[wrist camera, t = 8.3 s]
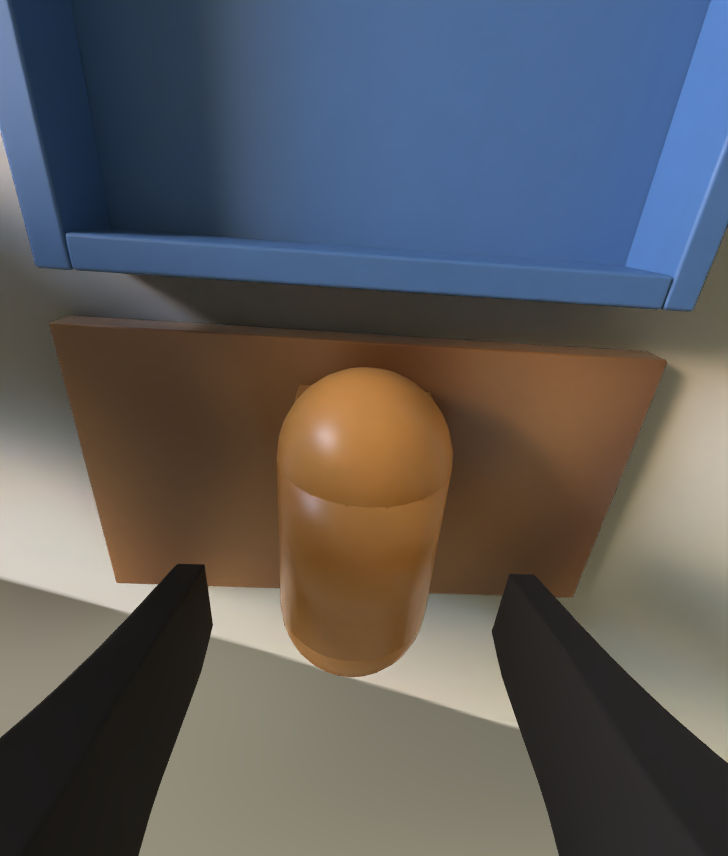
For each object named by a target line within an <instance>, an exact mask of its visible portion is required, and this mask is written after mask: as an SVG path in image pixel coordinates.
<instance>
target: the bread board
mask: <svg viewBox="0 0 728 856" xmlns="http://www.w3.org/2000/svg"><path fill="white" fill-rule="evenodd" d="M49 326H50V330H51V334H52V338H53V341H54V345H55V349H56V353H57V357H58V361H59V364H60V368H61V372H62V376H63V380H64V384H65V387H66V391H67V395H68V399H69V403H70V406H71V410H72V414H73V418H74V422H75V426H76V429H77V433H78V437H79V441H80V445H81V449H82V452H83V456H84V460H85V464H86V468H87V471H88V475H89V479H90V483H91V487H92V491H93V494H94V498H95V502H96V506H97V510H98V514H99V517H100V521H101V525H102V529H103V533H104V537H105V540H106V544H107V548H108V552H109V556H110V559H111V563H112V567H113V571H114V575H115V579H116V582H117V583H135V584H159V583H160V582H161V581H162V580H163V578H164V577H165V576H166V575H167V574H168V573H169V572H170V571H171V569H172V568H173V567H174V566H176V565H177V564H205V571H206V578H207V586H227V587H258V588H280V560H279V522H278V485H277V451H278V441H279V434H280V431H281V428H282V425H283V422H284V420H285V418H286V416H287V414H288V413H289V411H290V409H291V408H292V406H293V404H294V403H295V398H296V394H297V391H298V388H299V385H313V384H314V383H316V382H317V381H319V380H321V379H322V378H324V377H326V376H327V375H330V374H333V373H336V372H339V371H342V370H345V369H349V368H357V367H371V368H379V369H385V370H389V371H392V372H395V373H397V374H400V375H402V376H404V377H405V378H407V379H409V380H411V381H413V382H415V383H416V384H417V385H418V386H419V387H420V388H422V389H423V390H424V391H425V392H430V393H431V396H432V398H433V400H434V402H435V404H436V405H437V406H438V408H439V409H440V411H441V412H442V414H443V416H444V418H445V421H446V423H447V426H448V428H449V432H450V437H451V443H452V449H453V459H452V472H451V477H450V482H449V487H448V493H447V498H446V503H445V508H444V514H443V519H442V524H441V530H440V535H439V540H438V545H437V551H436V556H435V561H434V567H433V572H432V577H431V582H430V588H429V593H441V594H472V595H503V593H504V590H505V586H506V583H507V580H508V576H509V574H531V575H535V576H536V577H537V578H538V579H539V580H540V581H541V582H542V584H543V585H544V586H545V587H546V588H547V589H548V590H549V591H550V592H551V593H552V594H553V596H554V597H564V598H572V597H573V595H574V593H575V590H576V588H577V585H578V583H579V581H580V578H581V576H582V573H583V571H584V568H585V566H586V563H587V561H588V558H589V556H590V553H591V551H592V548H593V546H594V543H595V541H596V538H597V536H598V533H599V531H600V528H601V526H602V523H603V521H604V518H605V516H606V513H607V511H608V508H609V506H610V504H611V501H612V499H613V496H614V494H615V491H616V489H617V486H618V484H619V481H620V479H621V476H622V474H623V471H624V469H625V466H626V464H627V461H628V459H629V456H630V454H631V451H632V449H633V446H634V444H635V441H636V439H637V436H638V434H639V431H640V429H641V426H642V424H643V422H644V419H645V417H646V414H647V412H648V409H649V407H650V404H651V402H652V399H653V397H654V394H655V392H656V389H657V387H658V384H659V382H660V379H661V377H662V374H663V372H664V369H665V367H666V364H667V360H665V359H663V358H661V357H659V356H656V355H654V354H652V353H650V352H648V351H633V350H617V349H601V348H585V347H569V346H553V345H537V344H521V343H505V342H490V341H474V340H458V339H442V338H426V337H410V336H394V335H378V334H362V333H346V332H330V331H314V330H298V329H282V328H266V327H250V326H234V325H218V324H202V323H186V322H170V321H154V320H138V319H123V318H107V317H91V316H75V315H69V316H66V317H63V318H61V319H58V320H55V321H52V322H50V323H49Z"/></svg>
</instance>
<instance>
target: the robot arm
mask: <svg viewBox="0 0 728 856" xmlns="http://www.w3.org/2000/svg"><path fill="white" fill-rule="evenodd" d="M212 626H213V623H212V616H211V608H210V601H209V593H208V586H207V578H206V571H205V564H177V565H176V566H174V567H173V568H172V569H171V571H170V572H169V573H168V574H167V575H166V576H165V577H164V578H163V580H162V581H161V582H160V583H159V584H158V585H157V586H156V587H155V588H154V590H153V591H152V592H151V593H150V594H149V595H148V596H147V597H146V598H145V599H144V601H143V602H142V603H141V604H140V605H139V606H138V607H137V608H136V609H135V610H134V611H133V612H132V614H131V615H130V616H129V617H128V618H127V619H126V620H125V621H124V622H123V623H122V624H121V625H120V626H119V627H118V628H117V629H116V630H115V631H114V632H113V634H111V635H110V636H109V638H108V639H106V641H105V642H104V643H103V644H102V645H101V646H100V647H99V648H98V649H97V650H96V651H95V652H94V653H93V654H92V655H91V656H90V657H89V658H87V660H85V662H83V663H82V664H81V665H80V666H79V667H78V668H77V669H76V670H75V671H74V672H73V673H72V674H71V675H70V676H69V677H68V678H67V679H66V680H65V681H63V682H62V683H61V684H60V685H59V686H58V687H57V688H56V689H55V690H54V691H53V692H52V693H51V694H50V695H49V696H47V697H46V698H45V699H44V700H43V701H42V702H41V703H40V704H39V705H37V706H36V707H35V708H34V709H33V710H32V711H31V712H30V713H29V714H27V715H26V716H25V717H24V718H23V719H22V720H20V721H19V722H18V723H17V724H16V725H15V726H13V727H12V728H11V729H10V730H9V731H8V732H7V733H6V734H4V735H3V736H2V737H1V738H0V856H138V855H139V852H140V848H141V844H142V841H143V837H144V833H145V830H146V827H147V823H148V820H149V816H150V813H151V810H152V807H153V804H154V801H155V797H156V795H157V791H158V788H159V785H160V783H161V780H162V777H163V774H164V771H165V769H166V766H167V764H168V761H169V758H170V755H171V753H172V750H173V747H174V744H175V742H176V739H177V736H178V734H179V731H180V728H181V725H182V723H183V720H184V717H185V715H186V712H187V709H188V707H189V704H190V701H191V698H192V695H193V693H194V690H195V687H196V684H197V682H198V679H199V676H200V673H201V670H202V666H203V662H204V658H205V655H206V651H207V647H208V643H209V639H210V634H211V630H212ZM492 635H493V639H494V644H495V649H496V653H497V658H498V662H499V666H500V670H501V675H502V678H503V681H504V684H505V687H506V690H507V693H508V696H509V699H510V702H511V705H512V708H513V711H514V714H515V717H516V719H517V722H518V725H519V728H520V731H521V734H522V737H523V740H524V742H525V745H526V748H527V751H528V754H529V757H530V759H531V762H532V765H533V768H534V771H535V774H536V777H537V780H538V783H539V785H540V789H541V792H542V795H543V798H544V802H545V805H546V808H547V811H548V815H549V819H550V822H551V827H552V830H553V834H554V838H555V842H556V846H557V849H558V853H559V856H728V763H727V762H726V761H724V760H723V759H722V758H721V757H719V756H718V755H717V754H716V753H715V752H714V751H712V750H711V749H710V748H709V747H708V746H707V745H706V744H704V743H703V742H702V741H701V740H700V739H699V738H697V737H696V736H695V735H694V734H693V733H692V732H690V731H689V730H688V729H687V728H686V727H685V726H683V725H682V724H681V723H680V722H679V721H678V720H677V719H676V718H674V717H673V716H672V715H671V714H670V713H669V712H668V711H667V710H666V709H665V708H663V707H662V706H661V705H660V704H659V703H658V702H657V701H656V700H655V699H654V698H653V697H652V696H651V695H650V694H649V693H648V692H647V691H645V690H644V689H643V688H642V687H641V686H640V685H639V684H638V683H637V682H636V681H635V680H634V679H633V678H632V677H631V676H630V675H629V674H628V673H627V672H626V671H625V670H624V669H623V668H622V667H621V666H620V665H619V664H618V663H617V662H616V661H615V660H614V659H613V658H612V657H611V656H610V655H609V654H608V653H607V652H606V651H605V650H604V649H603V648H602V647H601V646H600V645H599V644H598V643H597V642H596V641H595V640H594V639H593V638H592V637H591V635H590V634H589V633H588V632H587V631H586V630H585V629H584V628H583V627H582V626H581V625H580V624H579V623H578V622H577V621H576V619H575V618H574V617H573V616H572V615H571V614H570V613H569V612H568V611H567V610H566V609H565V608H564V606H563V605H562V604H561V603H560V602H559V601H558V600H557V599H556V598H555V597H554V596H553V594H552V593H551V592H550V591H549V590H548V589H547V588H546V587H545V586H544V585H543V584H542V582H541V581H540V580H539V579H538V578H537V577H536V576H535V575H531V574H509V576H508V580H507V583H506V586H505V590H504V593H503V596H502V600H501V603H500V606H499V609H498V613H497V616H496V619H495V623H494V626H493V629H492Z"/></svg>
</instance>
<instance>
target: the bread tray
mask: <svg viewBox="0 0 728 856" xmlns="http://www.w3.org/2000/svg"><path fill="white" fill-rule="evenodd" d="M0 130H1V134H2V138H3V142H4V146H5V150H6V154H7V157H8V161H9V165H10V169H11V173H12V177H13V181H14V184H15V188H16V192H17V196H18V200H19V204H20V207H21V211H22V215H23V219H24V223H25V227H26V231H27V234H28V238H29V242H30V246H31V250H32V254H33V258H34V261H35V265H36V266H37V267H39V268H50V269H64V270H71V269H76V270H81V271H96V272H111V273H126V274H140V275H155V276H170V277H185V278H199V279H214V280H229V281H244V282H258V283H273V284H288V285H303V286H317V287H332V288H347V289H362V290H376V291H391V292H406V293H421V294H435V295H450V296H465V297H480V298H494V299H509V300H524V301H539V302H553V303H568V304H583V305H598V306H612V307H627V308H642V309H663V310H672V311H686V312H688V311H692V310H693V309H694V307H695V305H696V302H697V300H698V298H699V295H700V293H701V290H702V288H703V285H704V283H705V280H706V278H707V275H708V273H709V271H710V268H711V266H712V263H713V261H714V258H715V256H716V253H717V251H718V248H719V246H720V244H721V241H722V239H723V236H724V234H725V231H726V229H727V226H728V0H0Z"/></svg>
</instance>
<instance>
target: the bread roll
mask: <svg viewBox="0 0 728 856" xmlns="http://www.w3.org/2000/svg"><path fill="white" fill-rule="evenodd" d="M452 459H453V449H452V443H451V437H450V432H449V428H448V426H447V423H446V421H445V418H444V416H443V414H442V412H441V411H440V409H439V408H438V406H437V405H436V404H435V402H434V400H433V398H432V396H431V393H430V392H425V391H424V390H423V389H422V388H420V387H419V386H418V385H417V384H416V383H415V382H413V381H411V380H409V379H407V378H405V377H404V376H402V375H400V374H397V373H395V372H392V371H389V370H385V369H379V368H371V367H357V368H349V369H345V370H342V371H339V372H336V373H333V374H330V375H327V376H326V377H324V378H322V379H321V380H319V381H317V382H316V383H314V384H313V385H299V388H298V391H297V394H296V398H295V403H294V404H293V406H292V408H291V409H290V411H289V413H288V414H287V416H286V418H285V420H284V422H283V425H282V428H281V431H280V434H279V441H278V451H277V485H278V522H279V560H280V598H281V610H282V614H283V620H284V625H285V627H286V630H287V632H288V634H289V636H290V638H291V640H292V642H293V644H294V645H295V647H296V648H297V649H298V650H299V652H300V653H301V654H302V655H303V656H304V657H305V658H306V659H308V660H309V661H310V662H311V663H312V664H314V665H315V666H317V667H319V668H320V669H322V670H324V671H326V672H329V673H332V674H335V675H338V676H346V677H360V676H366V675H370V674H374V673H376V672H378V671H380V670H382V669H384V668H386V667H388V666H390V665H392V664H393V663H395V662H396V661H397V660H398V659H400V658H401V657H402V656H403V655H404V653H405V652H406V651H407V649H408V648H409V647H410V646H411V644H412V643H413V642H414V640H415V639H416V636H417V634H418V632H419V630H420V627H421V624H422V621H423V618H424V614H425V609H426V603H427V598H428V593H429V588H430V582H431V577H432V572H433V567H434V561H435V556H436V551H437V545H438V540H439V535H440V530H441V524H442V519H443V514H444V508H445V503H446V498H447V493H448V487H449V482H450V477H451V472H452Z"/></svg>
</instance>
